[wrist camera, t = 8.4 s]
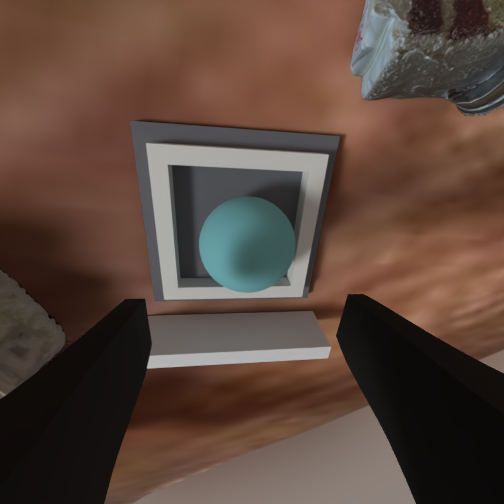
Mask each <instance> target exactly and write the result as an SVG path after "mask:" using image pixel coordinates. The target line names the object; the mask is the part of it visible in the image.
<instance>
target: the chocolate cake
mask: <svg viewBox="0 0 504 504" xmlns="http://www.w3.org/2000/svg"><path fill="white" fill-rule="evenodd" d="M351 71H352V73H353V74H354V75H356V76H361V77H362V79H363V83H362V88H361V94H362V98H363V99H364V100H377V99H382V98H386V97H392V98H396V99H402V98H413V97H444V98H445V99H447V100H449V101H450V102H452V103H455V104H456V105H457V108H458V110H459V111H460V112H461V113H462V114H464V115H465V116H467V115H469V116H474V115H480V114H484V115H486V114H488V113H489V112H491V111H492V110H494V109H497V108H498V107H499V108H500V107H503V105H504V0H366V2H365V7H364V11H363V15H362V19H361V23H360V26H359V29H358V33H357V37H356V42H355V46H354V49H353V57H352V61H351Z"/></svg>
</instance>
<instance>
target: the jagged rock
mask: <svg viewBox="0 0 504 504" xmlns="http://www.w3.org/2000/svg"><path fill="white" fill-rule="evenodd" d="M19 287H20V285H19V286H18V282H16V281H15V280H14V279H12V278H10V277H9V276H8V274H7V273H3V272H2V270H0V399H1V398H2V397H4V396H5V395H7V394H8V393H9V392H11V391H12V390H14V389H15V388H16V387H18V386H19V385H21V384H22V383H23V382H25V381H26V380H27V379H29V378H30V377H31V376H33V375H34V374H35V373H36V372H37V371H38V370H39V369H40V368H41V367H42V366H43V365H44V364H45V363H46V362H48V361H49V360H51V359H52V358H53V356H54V355H55V354H57V353H58V352H59V351H60V350H61V349H62V347H63V346H64V344H65V333H64V331H62V328H61V326H60V325H57V324H56V323H55V320H54V319H53V318H52V319H50V318H49V317H48V313H47V312H46V311H45V309H43V308H42V307H41V306H40V304H38V303H36V302H34V299H33V298H31V297H30V295H28V294H25V293H26V290H25V289H24V288H19Z"/></svg>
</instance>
